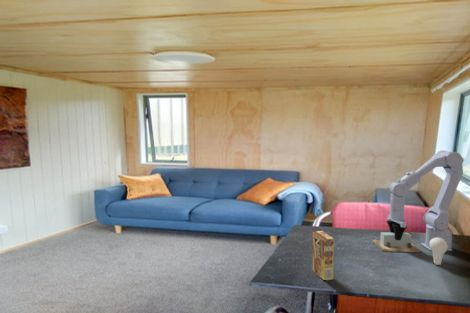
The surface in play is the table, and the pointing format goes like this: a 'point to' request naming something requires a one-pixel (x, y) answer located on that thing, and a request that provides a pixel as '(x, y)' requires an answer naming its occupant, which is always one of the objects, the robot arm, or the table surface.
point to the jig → (397, 247)
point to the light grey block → (390, 238)
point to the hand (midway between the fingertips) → (395, 238)
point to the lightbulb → (438, 249)
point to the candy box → (323, 255)
